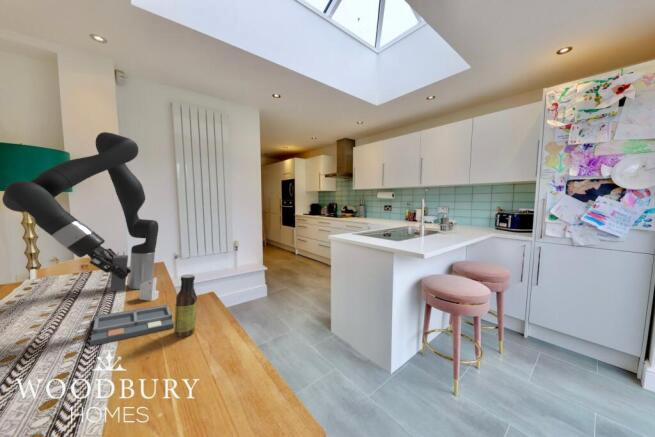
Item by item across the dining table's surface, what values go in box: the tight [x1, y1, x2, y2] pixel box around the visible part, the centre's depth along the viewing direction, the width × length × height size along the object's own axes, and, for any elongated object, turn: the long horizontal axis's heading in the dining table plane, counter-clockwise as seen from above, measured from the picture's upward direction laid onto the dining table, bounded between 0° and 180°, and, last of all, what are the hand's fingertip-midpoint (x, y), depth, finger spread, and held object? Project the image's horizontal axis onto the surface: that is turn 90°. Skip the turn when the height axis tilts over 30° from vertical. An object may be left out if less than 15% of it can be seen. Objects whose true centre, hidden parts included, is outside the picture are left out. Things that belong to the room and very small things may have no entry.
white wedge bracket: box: [138, 276, 160, 302], centre depth 102 cm, size 4×10×9 cm, turn 85°
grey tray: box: [89, 304, 175, 347], centre depth 81 cm, size 18×21×3 cm
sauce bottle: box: [173, 273, 198, 338], centre depth 79 cm, size 6×6×20 cm
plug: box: [109, 251, 129, 292], centre depth 77 cm, size 4×4×13 cm
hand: (126, 275), depth 79 cm, fingers closed on plug, 4 cm apart
